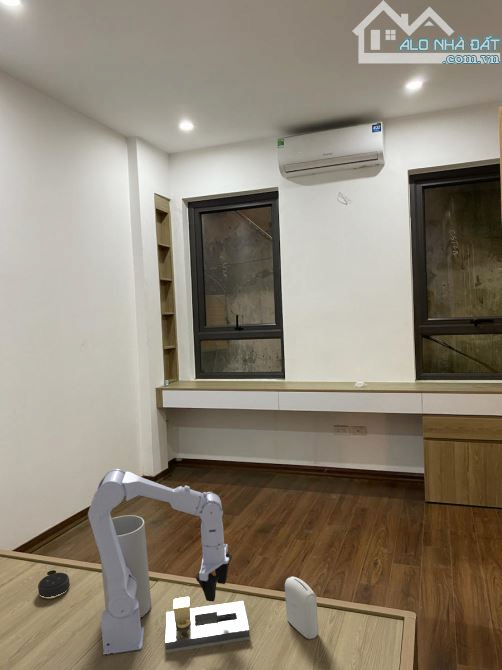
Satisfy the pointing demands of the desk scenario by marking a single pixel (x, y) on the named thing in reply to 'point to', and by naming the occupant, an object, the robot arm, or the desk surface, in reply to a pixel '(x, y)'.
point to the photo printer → (301, 607)
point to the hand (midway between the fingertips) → (216, 591)
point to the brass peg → (182, 612)
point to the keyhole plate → (208, 627)
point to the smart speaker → (53, 584)
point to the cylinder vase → (132, 558)
